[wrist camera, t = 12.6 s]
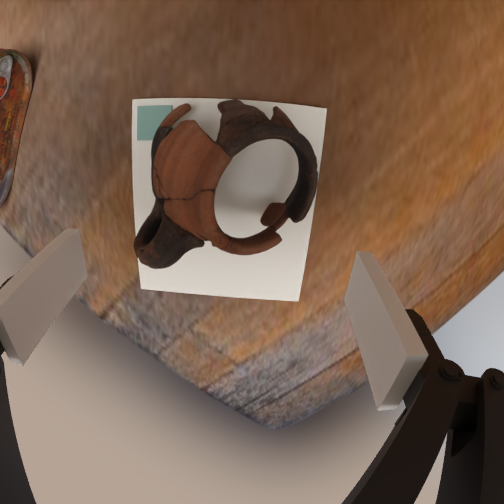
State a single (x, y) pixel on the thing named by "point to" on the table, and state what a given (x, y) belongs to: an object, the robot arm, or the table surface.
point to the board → (232, 204)
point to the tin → (12, 111)
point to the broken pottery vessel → (215, 183)
